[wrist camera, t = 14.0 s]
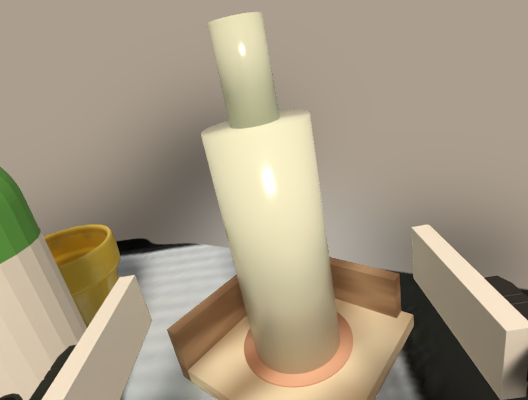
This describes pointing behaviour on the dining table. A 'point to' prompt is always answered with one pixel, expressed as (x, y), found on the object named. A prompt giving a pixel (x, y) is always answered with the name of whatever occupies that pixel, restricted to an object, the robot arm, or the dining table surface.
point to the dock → (307, 384)
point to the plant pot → (86, 264)
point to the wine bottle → (30, 299)
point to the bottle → (271, 205)
